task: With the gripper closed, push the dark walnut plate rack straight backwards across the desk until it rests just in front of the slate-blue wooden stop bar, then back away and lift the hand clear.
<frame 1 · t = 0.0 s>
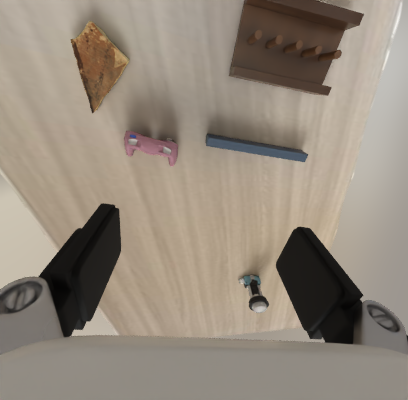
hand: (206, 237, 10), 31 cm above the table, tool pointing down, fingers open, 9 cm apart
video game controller: (154, 145, 39), on the table
stop bar: (254, 146, 40), on the table
golden brown flat wedge: (108, 72, 32), on the table
rack: (283, 50, 32), on the table
push button: (248, 277, 61), on the table
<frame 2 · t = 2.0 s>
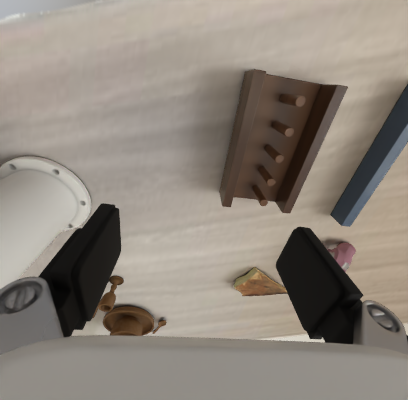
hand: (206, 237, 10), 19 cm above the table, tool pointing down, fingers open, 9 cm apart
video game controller: (324, 256, 39), on the table
stop bar: (367, 160, 29), on the table
golden brown flat wedge: (260, 277, 42), on the table
rack: (265, 145, 27), on the table
place setting: (135, 307, 47), on the table
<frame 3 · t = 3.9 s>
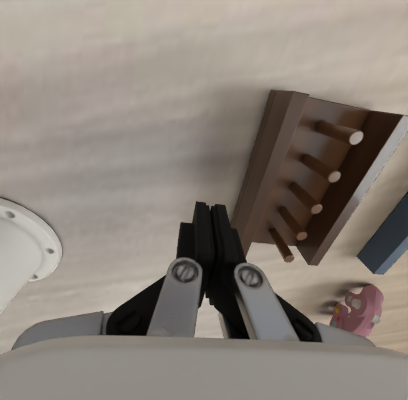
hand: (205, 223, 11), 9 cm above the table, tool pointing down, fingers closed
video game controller: (343, 298, 34), on the table
rack: (288, 181, 21), on the table
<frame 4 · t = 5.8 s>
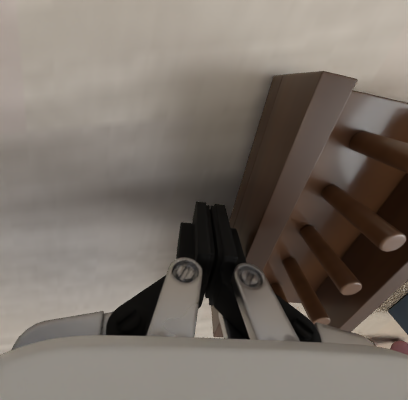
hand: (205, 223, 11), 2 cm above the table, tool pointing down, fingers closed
rack: (298, 220, 14), on the table, touching gripper
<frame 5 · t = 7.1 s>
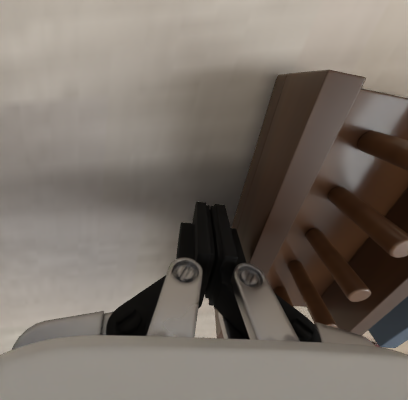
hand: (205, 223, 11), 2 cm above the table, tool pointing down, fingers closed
rack: (304, 222, 14), on the table, touching gripper
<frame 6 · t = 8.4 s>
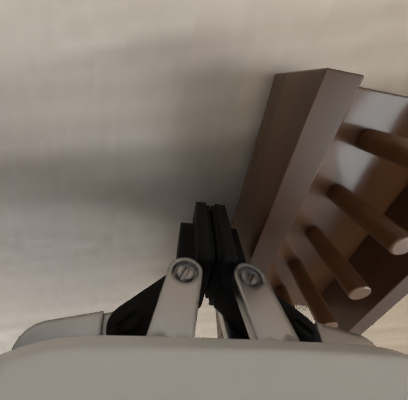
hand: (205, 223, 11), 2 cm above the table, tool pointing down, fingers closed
rack: (304, 221, 14), on the table, touching gripper
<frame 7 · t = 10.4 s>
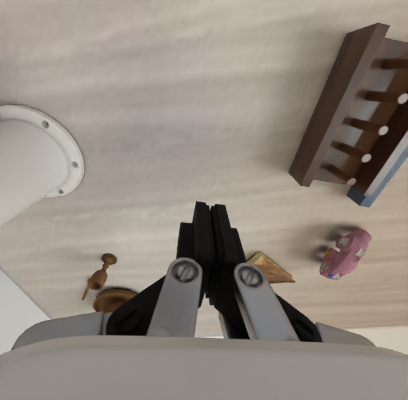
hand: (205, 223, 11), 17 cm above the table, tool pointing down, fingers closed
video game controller: (335, 244, 36), on the table
stop bar: (394, 131, 26), on the table
golden brown flat wedge: (265, 264, 39), on the table
rack: (349, 121, 25), on the table
place setting: (128, 291, 44), on the table
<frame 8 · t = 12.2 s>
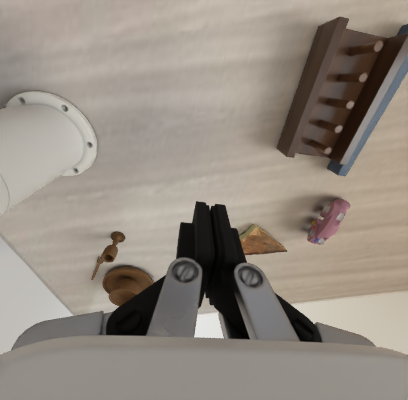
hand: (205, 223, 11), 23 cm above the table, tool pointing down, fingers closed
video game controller: (320, 214, 41), on the table
stop bar: (362, 109, 30), on the table
golden brown flat wedge: (259, 236, 43), on the table
rack: (325, 101, 30), on the table
place setting: (135, 269, 47), on the table
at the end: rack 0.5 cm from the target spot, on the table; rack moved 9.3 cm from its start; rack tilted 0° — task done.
